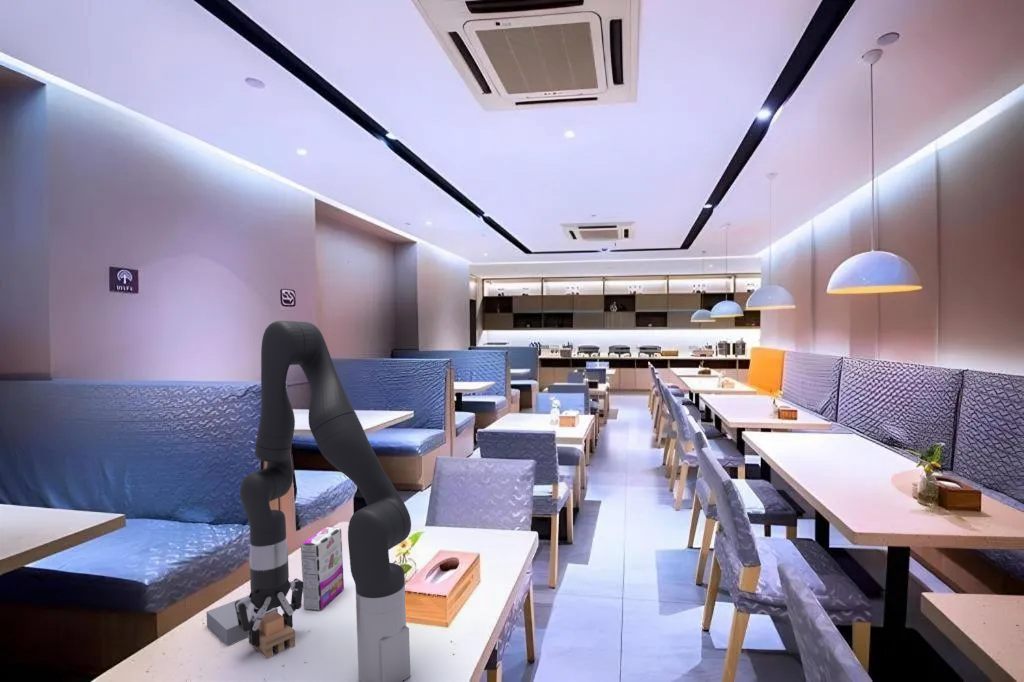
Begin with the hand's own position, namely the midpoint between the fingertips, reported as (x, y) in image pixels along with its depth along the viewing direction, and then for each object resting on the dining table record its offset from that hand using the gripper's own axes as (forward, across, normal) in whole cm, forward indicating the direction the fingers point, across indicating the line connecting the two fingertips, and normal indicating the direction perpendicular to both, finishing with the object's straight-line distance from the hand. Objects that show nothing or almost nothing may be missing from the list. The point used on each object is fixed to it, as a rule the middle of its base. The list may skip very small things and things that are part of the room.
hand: (271, 638), depth 112 cm
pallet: (+1, 0, 0) cm, 1 cm away
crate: (-2, 0, 0) cm, 2 cm away
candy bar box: (+1, +17, +9) cm, 19 cm away
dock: (+1, -1, +13) cm, 13 cm away
